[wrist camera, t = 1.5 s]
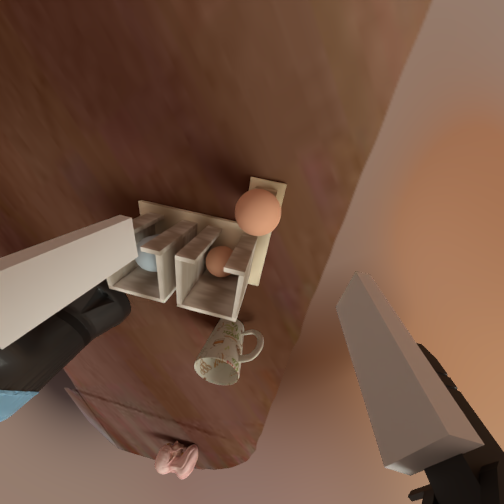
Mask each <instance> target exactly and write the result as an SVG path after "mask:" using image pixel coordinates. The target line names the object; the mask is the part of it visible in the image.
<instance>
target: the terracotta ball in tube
mask: <svg viewBox="0 0 504 504" xmlns="http://www.w3.org/2000/svg"><path fill="white" fill-rule="evenodd" d="M232 252H233V250H232V249H230V248H229V247H226V246H217V247H215V248H213V249H211V250H210V251H209V253H208V254H207V257H206V267H207V269H208V271H209V272H210V273H211V274H212V275H214V276H217V277H226V276H229V275H230V274H231V273H227V272H224V266H225V265H226V263H227V261H228V259H229V257H230V256H231V254H232Z"/></svg>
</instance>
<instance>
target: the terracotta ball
mask: <svg viewBox="0 0 504 504" xmlns="http://www.w3.org/2000/svg"><path fill="white" fill-rule="evenodd" d="M280 217H281V207H280V204H279V201H278V200H277V198H276V197H275V196H274V195H273V194H272V193H270V192H269V191H267V190H264V189H252V190H250V191H247V192H246V193H244V194H243V195H242V196H241V197H240V198H239V200H238V202H237V204H236V207H235V218H236V221H237V223H238V225H239V227H240V228H241V229H242V230H243V231H244V232H246V233H247V234H250V235H253V236H263V235H266V234H268V233H270V232H271V231H273V230H274V229H275V228H276V226H277V225H278V223H279V221H280Z"/></svg>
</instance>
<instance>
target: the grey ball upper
mask: <svg viewBox="0 0 504 504" xmlns="http://www.w3.org/2000/svg"><path fill="white" fill-rule="evenodd" d="M155 237H157V236H148V237H146V238H143V239H142V240H141V241H139V242H138V244H137V245H136V247H137V253H138V257H137V258H136V259H135V261H136V262H137V264H138V265H139V266H140V267H141V268H143V269H144V270H147V271H151V272H157V265H156V256H155V255H154V254H150V253H146V252H142V251H141V249H140V247H141V246H142V245H144V244H145V243H147V242H149V241H150V240H152V239H153V238H155Z"/></svg>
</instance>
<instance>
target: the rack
mask: <svg viewBox="0 0 504 504" xmlns="http://www.w3.org/2000/svg"><path fill="white" fill-rule="evenodd" d="M138 203H139V211H140V216H139V217H137V218H134V219H132V222H133V228H134V234H135V241H136V245H137V244H138V242H139V241H141V240H142V239H143V238H146V237H148V236H153V235H155V234H160V235H158V236H157V237H155V238H153V239H152V240H150V241H149V242H147V243H145V244H144V245H142V246H141V247H140V249H141V251H142V252H146V253H150V254H154V255H155V256H156V265H157V272H151V271H147V270H144V269H143V268H141V267H140V266H139V265H138V264H137V262H136V261H135V259H134V260H133V261H131V262H130V263H128V264H127V265H125V266H124V267H122V268H121V269H120V270H118V271H117V272H115V273H114V274H112V275H111V276H109V277H108V278H106V279H107V283H108V286H109V289H113V290H117V291H121V292H124V293H128V294H132V295H136V296H139V297H143V298H147V299H151V300H155V301H158V302H162V303H165V302H166V301H167V300H168V298H169V297H170V296H171V295H172V294H173V292H174V291H175V290H176V293H177V307H181V308H185V309H189V310H192V311H196V312H200V313H204V314H207V315H211V316H215V317H219V318H223V319H226V320H230V321H234V322H236V319H237V316H238V313H239V309H240V306H241V303H242V300H243V297H244V293H245V290H246V287H247V284H252V285H256V286H258V285H259V281H260V277H261V273H262V268H263V264H264V260H265V256H266V252H267V248H268V244H269V240H270V236H271V232H270V233H268V234H266V235H263V236H253V235H250V234H247V233H246V232H244V231H243V230H242V229H241V228H240V227H239V225H238V223H237V221H232V220H228V219H224V218H219V217H215V216H210V215H206V214H202V213H197V212H193V211H188V210H184V209H180V208H175V207H171V206H166V205H162V204H157V203H153V202H149V201H144V200H140V201H138ZM217 246H226V247H229V248H230V249H232V250H233V252H232V254H231V256H230V257H229V259H228V261H227V263H226V265H225V266H224V272H227V273H231V274H230V275H229V276H226V277H217V276H214V275H212V274H211V273H210V272H209V271H208V269H207V267H206V257H207V254H208V253H209V251H210V250H211V249H213V248H215V247H217Z"/></svg>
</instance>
